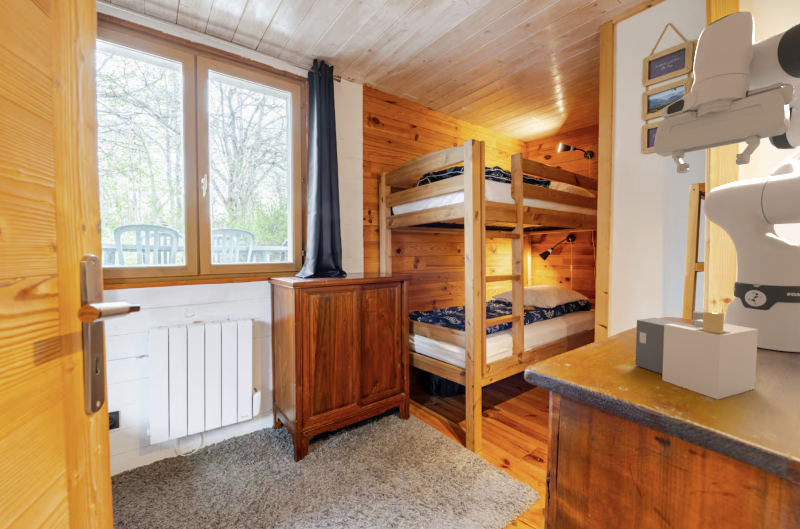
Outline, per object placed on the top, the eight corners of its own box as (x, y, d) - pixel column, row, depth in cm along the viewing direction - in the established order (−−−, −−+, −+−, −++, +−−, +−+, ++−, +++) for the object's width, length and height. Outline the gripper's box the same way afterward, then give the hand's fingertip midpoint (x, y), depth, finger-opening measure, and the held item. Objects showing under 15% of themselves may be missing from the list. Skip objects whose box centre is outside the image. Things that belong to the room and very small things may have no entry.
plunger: (707, 346, 56) (709, 310, 56) (725, 350, 54) (727, 313, 54) (698, 348, 55) (700, 312, 55) (716, 352, 53) (718, 314, 53)
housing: (698, 372, 64) (700, 319, 63) (754, 388, 56) (757, 329, 55) (662, 380, 60) (664, 324, 59) (717, 399, 53) (720, 335, 52)
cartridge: (653, 361, 69) (654, 317, 68) (706, 377, 60) (708, 327, 60) (635, 365, 67) (636, 320, 66) (687, 382, 59) (689, 330, 58)
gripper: (800, 84, 61) (792, 161, 61) (667, 119, 79) (661, 179, 79) (789, 72, 58) (780, 153, 58) (653, 111, 76) (647, 173, 76)
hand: (710, 168), depth 69 cm, fingers open, 8 cm apart
